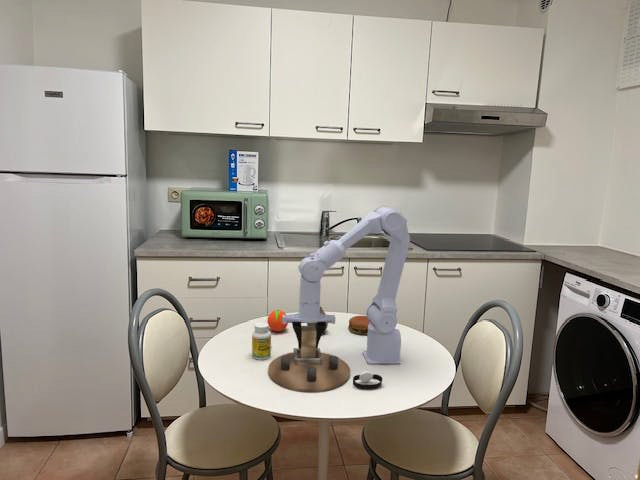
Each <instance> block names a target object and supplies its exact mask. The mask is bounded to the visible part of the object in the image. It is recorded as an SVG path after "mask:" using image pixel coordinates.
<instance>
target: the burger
mask: <svg viewBox="0 0 640 480" xmlns="http://www.w3.org/2000/svg"><path fill="white" fill-rule="evenodd" d="M369 323H370V321H369V319H368V318H367V315H354V316H352V317H351V318H349V320H348V328H347V329H348V331H349V332H350V333H352V334H357V335H362V336H363V335H367V336H368V325H369Z"/></svg>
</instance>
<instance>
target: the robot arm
mask: <svg viewBox="0 0 640 480" xmlns="http://www.w3.org/2000/svg"><path fill="white" fill-rule="evenodd" d="M407 223H408V219H406V217H405V216H404V215H403V213H402V212H401V211H399V210H398V209H393V208H390V207H388V206H387V205H380V206H378V207H376V208H375V209H374V210H372V211H370V212H369V213H367V215H366V216H364V217H363V218H362V219H361V220H359V222H357V223H356V224H355V225H354V226H353V227H352V228H350V230H348V231H347V232H346V233H345V234H344V235H343V236H341V237H340V238H339V239H331V240H330V241H328V240H326V241H324V242H323V245H322V247H320V248H319V249H317V250H316V251H315V252H311V253H310V254H309V256H308V257H307V256H306V257H304V258H303V259H302V260H301V261H300V263H299V265H298V267H297V268H298V271H299V273H300V280H299V281H300V284H299V300H298V301H299V303H298V305H299V306H298V307H299V308H298V313H290V314H286V315H283V324H287V323H288V324H291V326H292V329H293V331H294V334H295V336H296V339H297V344H298V345H297V346H298V347H297V348H299V349H301V332H302V327H301V326H302V324H307V323H315V328H316V349H318V348H319V343H320V340H321V338H322V336H323V334H324V333H325V332H326V331H325V329H326V323H328V324H332V325H336V316H335V314H326V313H325V314H320V306H321V290H322V289H321V286H322V285H321V279H323V277H324V274H325V272H326V271H327V270H328V269H330V268H331V267H333V265H335V264H336V263H337V262H339V261H340V260H341V259H342V258H344V257H345V254H346V250H347V249H349V248H350V247H351V246H353V245H355V244H356V243H357V242H359V241H360V240H362V239H363V238H364V237H366V236H367V235H368V234H382V233H383V234H384V235H385V236H386V238H387V240H388V241H389V245H388V250H387V253H386V258H385V261H384V265H383V269H382V274H381V276H380V281H379V286H378V289H377V294H375V296H373V297H372V300H371V303H370V304H369V305H368V307H367V308H366V315H365V316H367V318H368V319H369V321H370V323H369V325H368V334H367V337H366V338H367V340H366V350H362V353H363V356H364V358H365V360H366V362H367V364H369V365H372V364H374V365H375V364H376V365H377V364H380V365H381V364H382V365H385V364H386V365H387V364H401V350H402V349H401V348H402V337H401V336H402V334H401V331H400V329H398V328H396V327H397V325H398V318H397V312H398V309H397V308H398V307H397V302H396V298H397V294H398V290H399V287H400V286H399V285H400V283H401V277H402V275H403V270H404V268H405V267H404V266H405V263H406V259H407V255H408V250H409V246H410V243H411V237H410V232H409V229H408V225H407ZM326 330H327V329H326ZM324 331H325V332H324ZM323 332H324V333H323Z"/></svg>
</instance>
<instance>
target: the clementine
mask: <svg viewBox="0 0 640 480" xmlns="http://www.w3.org/2000/svg"><path fill="white" fill-rule="evenodd" d="M283 315H287V313H286V312H284V311H283V310H280V309H276V310H273V311H272V312H270V313H269V315H268V317H267V320H266V321H267V322H266V323H267V324H269V329H270V330H272V331H273V332H282V331H284V330H285V329H286V328H287V327H288V325H289V323H287V324H283Z"/></svg>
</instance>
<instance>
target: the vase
mask: <svg viewBox="0 0 640 480" xmlns="http://www.w3.org/2000/svg"><path fill="white" fill-rule="evenodd" d="M320 314H326V312H325V311H324V309H323V307H322V306H321V305H320ZM328 325H329V323H326V329H325V331H324V332H323V334H324V333H325V332H326V331H327V329H328ZM306 326H315V323H306Z"/></svg>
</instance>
